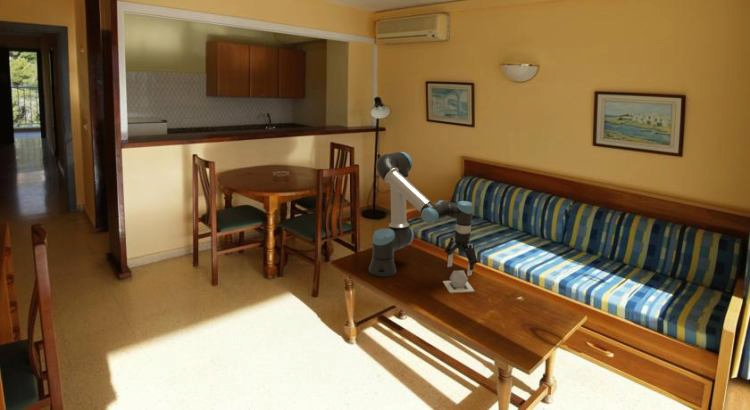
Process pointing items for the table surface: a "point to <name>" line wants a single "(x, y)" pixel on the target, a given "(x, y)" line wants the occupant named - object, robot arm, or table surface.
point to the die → (458, 278)
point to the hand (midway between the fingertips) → (459, 270)
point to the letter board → (458, 289)
